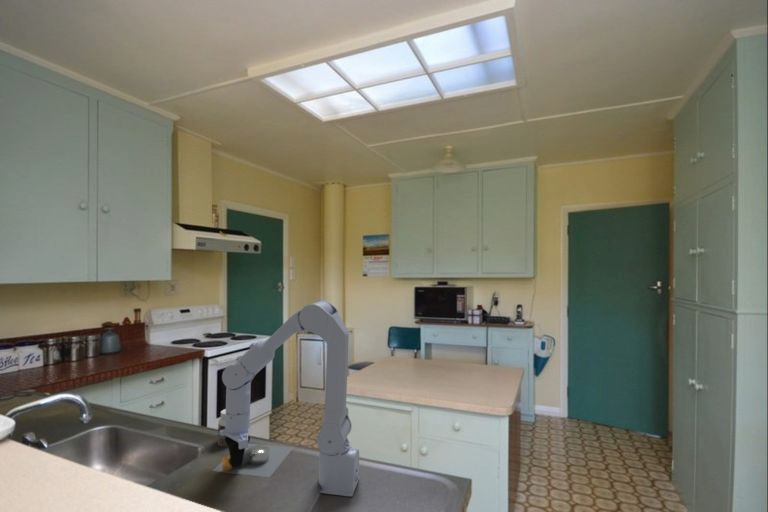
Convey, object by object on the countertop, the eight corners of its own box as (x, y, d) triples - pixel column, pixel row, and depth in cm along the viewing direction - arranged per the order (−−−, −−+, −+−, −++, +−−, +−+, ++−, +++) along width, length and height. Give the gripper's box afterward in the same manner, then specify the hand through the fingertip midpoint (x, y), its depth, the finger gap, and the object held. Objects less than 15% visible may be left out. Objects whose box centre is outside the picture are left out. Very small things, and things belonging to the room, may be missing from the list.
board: (293, 452, 109) (293, 447, 109) (269, 482, 94) (269, 477, 94) (243, 447, 111) (243, 442, 111) (212, 475, 97) (212, 470, 97)
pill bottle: (213, 447, 111) (214, 412, 111) (229, 439, 116) (230, 405, 116) (227, 452, 108) (228, 416, 108) (243, 443, 113) (244, 409, 113)
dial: (272, 460, 102) (272, 448, 102) (227, 476, 94) (228, 463, 94) (263, 452, 106) (263, 440, 106) (219, 466, 98) (219, 454, 98)
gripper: (216, 403, 101) (214, 456, 101) (226, 424, 89) (224, 484, 89) (244, 399, 105) (242, 450, 105) (257, 418, 93) (256, 476, 92)
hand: (236, 465), depth 97 cm, fingers closed, pressing on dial
